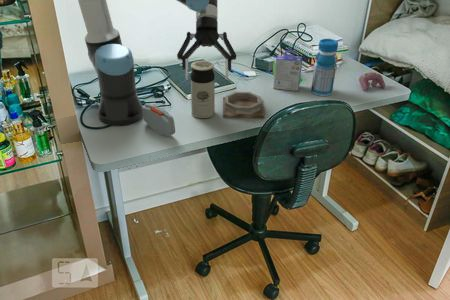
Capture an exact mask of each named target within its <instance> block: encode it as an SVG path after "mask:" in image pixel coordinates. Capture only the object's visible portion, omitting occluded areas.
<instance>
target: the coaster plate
mask: <svg viewBox="0 0 450 300" xmlns="http://www.w3.org/2000/svg"><path fill="white" fill-rule="evenodd" d="M225 118H226V119H228V118H229V119H233V118H234V119H239V118H241V119H264V118H265V113H264V108H263V101H262V97H261V96H260V95H258V94H255V93H252V91H233V92H231V93H229V94H226V95H225V96H222V119H225Z"/></svg>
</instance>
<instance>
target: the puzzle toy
mask: <svg viewBox="0 0 450 300" xmlns="http://www.w3.org/2000/svg"><path fill="white" fill-rule="evenodd" d="M275 63H276V59H275V58H274V59H273V64H272V65H273V67H272V74H273V77H274V76H275Z"/></svg>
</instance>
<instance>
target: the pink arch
mask: <svg viewBox="0 0 450 300" xmlns="http://www.w3.org/2000/svg"><path fill="white" fill-rule="evenodd" d="M358 81H359V83H360V88H361V89H362V91H363V90H364V91H363V92H365V91H366V92H368V91H367V90H368V88H370V87H373V88H375V87H376V86H377V85H379V86H380V88H381V89H382V90H384V89H386V82H385V80H384V78H383V76H382V75H381V73H380V72H373V71H371V72H366V73H364V74H362V75H360V76H359V78H358ZM370 81H371V82H370Z"/></svg>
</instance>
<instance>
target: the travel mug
mask: <svg viewBox="0 0 450 300" xmlns="http://www.w3.org/2000/svg"><path fill="white" fill-rule="evenodd" d="M190 67H191V72H190V75H189V76H190V99H191V100H190V104H191V105H190V106H191V115H192V116H193V117H195V118H198V119H208V118H210V117H213V116H214V115H215V93H216V92H215V83H216V82H215V72H214V70H213V69H214V67H215V65H214V63H213V62H211V61H209V60H196V61H193V62H192V63H191V64H190Z"/></svg>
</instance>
